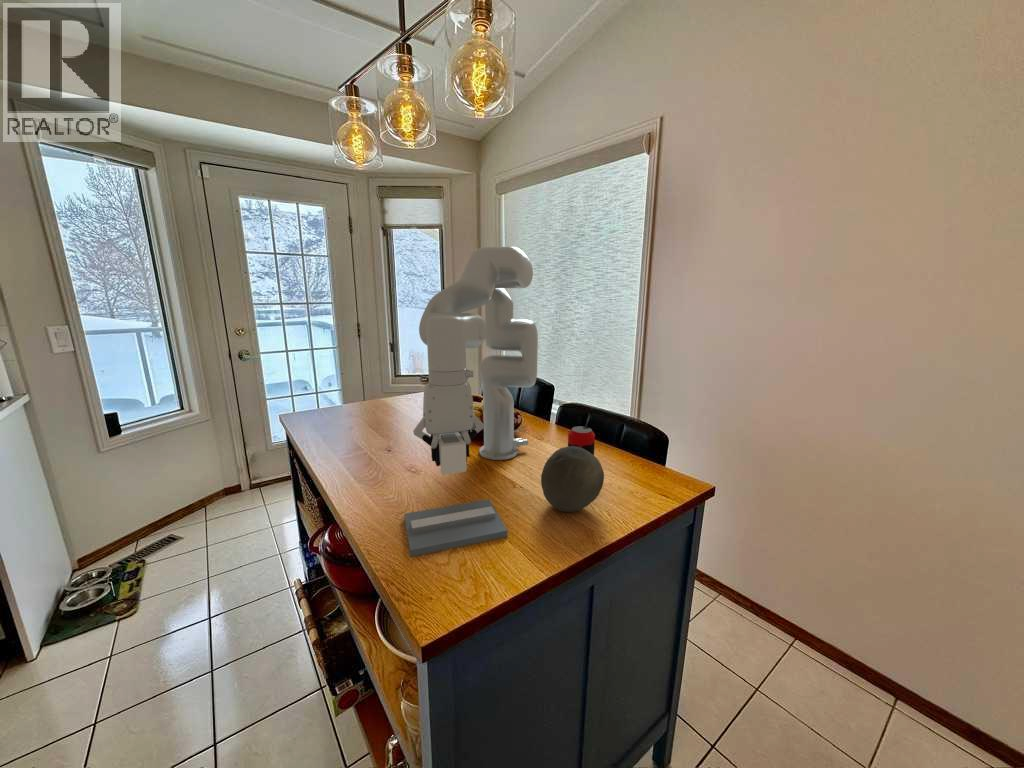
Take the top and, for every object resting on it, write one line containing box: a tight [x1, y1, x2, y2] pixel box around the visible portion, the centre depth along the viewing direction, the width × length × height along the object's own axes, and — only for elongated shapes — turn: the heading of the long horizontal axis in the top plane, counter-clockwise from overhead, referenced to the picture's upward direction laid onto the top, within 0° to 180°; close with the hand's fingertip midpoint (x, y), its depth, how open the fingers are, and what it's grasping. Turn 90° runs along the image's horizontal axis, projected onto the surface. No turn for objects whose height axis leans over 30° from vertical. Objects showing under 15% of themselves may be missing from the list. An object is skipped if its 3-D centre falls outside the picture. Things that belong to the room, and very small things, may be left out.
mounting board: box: [403, 498, 509, 558], centre depth 88 cm, size 20×14×2 cm
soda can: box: [567, 425, 596, 456], centre depth 116 cm, size 8×8×12 cm
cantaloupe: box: [540, 445, 605, 513], centre depth 94 cm, size 14×14×15 cm
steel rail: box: [411, 506, 495, 533], centre depth 87 cm, size 18×3×1 cm, turn 109°
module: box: [438, 432, 468, 476], centre depth 84 cm, size 5×8×6 cm, turn 19°
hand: (450, 461), depth 85 cm, fingers closed on module, 5 cm apart
